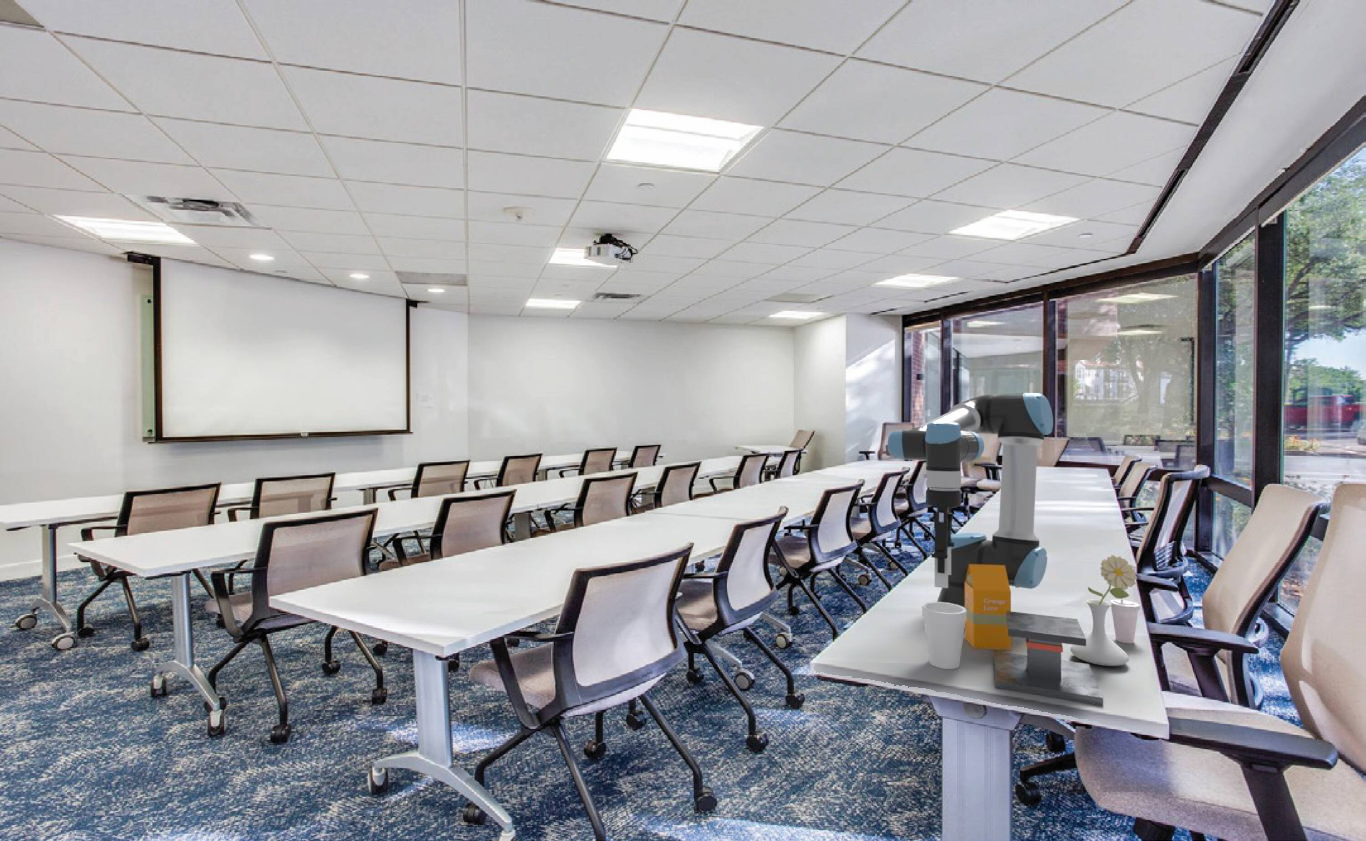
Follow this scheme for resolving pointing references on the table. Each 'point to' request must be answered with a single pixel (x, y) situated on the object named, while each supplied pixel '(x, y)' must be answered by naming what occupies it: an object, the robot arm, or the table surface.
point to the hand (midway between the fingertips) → (943, 580)
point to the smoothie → (1124, 619)
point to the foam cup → (944, 633)
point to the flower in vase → (1097, 642)
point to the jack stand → (1046, 660)
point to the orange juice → (987, 606)
